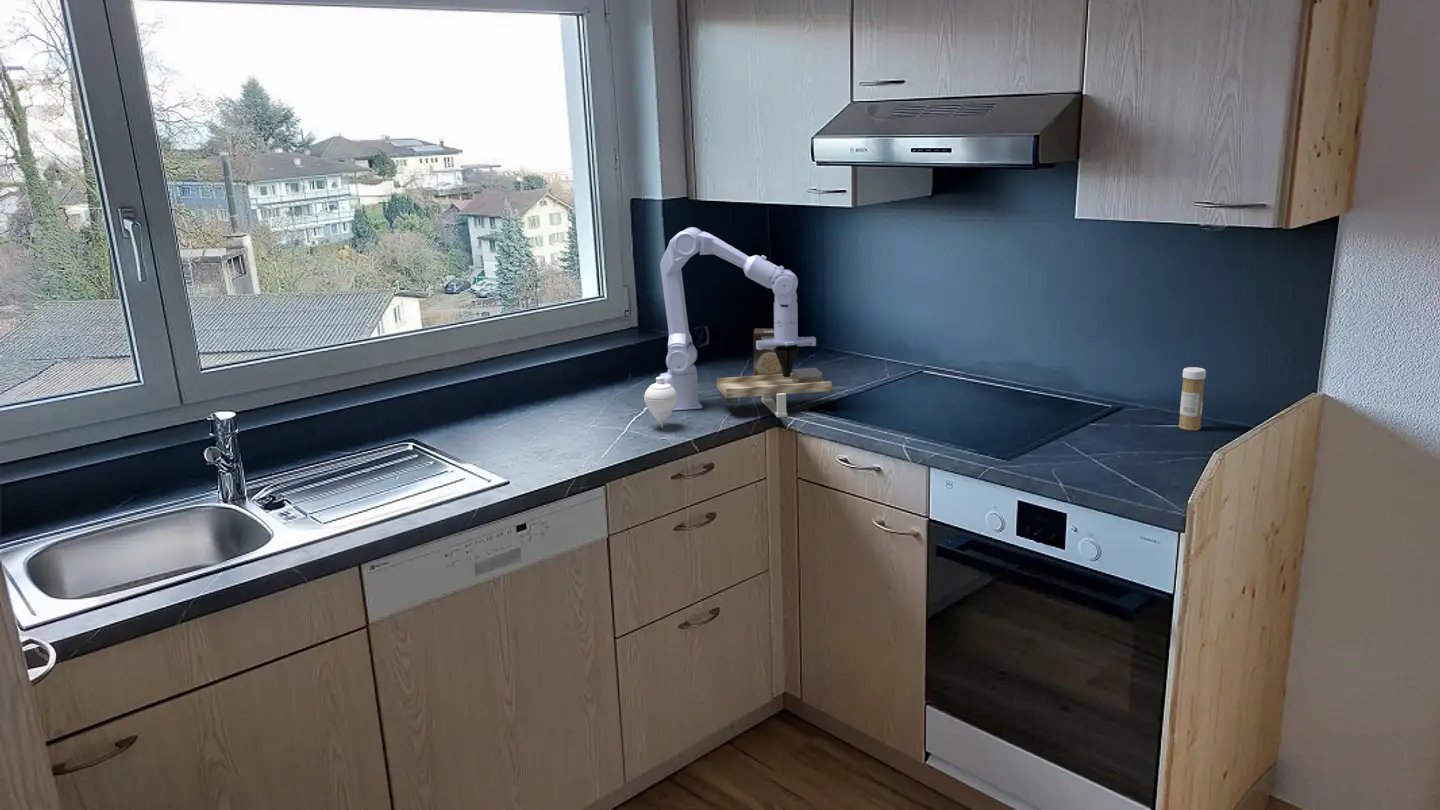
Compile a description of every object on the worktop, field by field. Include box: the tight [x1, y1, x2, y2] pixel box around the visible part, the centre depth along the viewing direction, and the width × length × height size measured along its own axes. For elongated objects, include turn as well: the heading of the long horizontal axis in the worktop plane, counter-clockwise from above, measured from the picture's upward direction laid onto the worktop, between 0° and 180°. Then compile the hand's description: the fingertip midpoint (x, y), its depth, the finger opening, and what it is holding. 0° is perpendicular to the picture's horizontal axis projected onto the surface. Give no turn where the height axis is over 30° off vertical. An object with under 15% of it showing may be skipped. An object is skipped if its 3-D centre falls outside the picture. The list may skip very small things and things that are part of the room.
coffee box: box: [753, 328, 783, 376], centre depth 265 cm, size 9×6×16 cm
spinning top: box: [643, 376, 677, 428], centre depth 235 cm, size 8×8×12 cm
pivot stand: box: [760, 393, 788, 418], centre depth 248 cm, size 2×16×6 cm, turn 12°
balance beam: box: [716, 372, 833, 404], centre depth 248 cm, size 26×13×4 cm, turn 102°
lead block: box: [791, 367, 823, 384], centre depth 249 cm, size 6×5×3 cm
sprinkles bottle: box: [1178, 366, 1207, 431], centre depth 221 cm, size 5×5×13 cm
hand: (786, 376), depth 248 cm, fingers closed
